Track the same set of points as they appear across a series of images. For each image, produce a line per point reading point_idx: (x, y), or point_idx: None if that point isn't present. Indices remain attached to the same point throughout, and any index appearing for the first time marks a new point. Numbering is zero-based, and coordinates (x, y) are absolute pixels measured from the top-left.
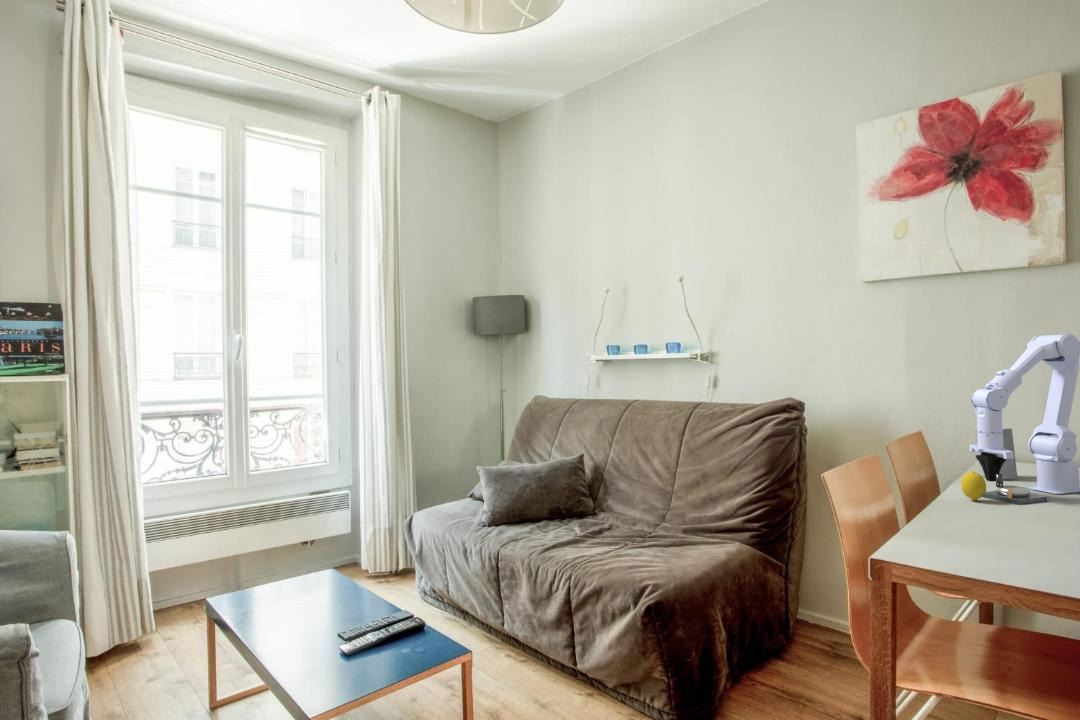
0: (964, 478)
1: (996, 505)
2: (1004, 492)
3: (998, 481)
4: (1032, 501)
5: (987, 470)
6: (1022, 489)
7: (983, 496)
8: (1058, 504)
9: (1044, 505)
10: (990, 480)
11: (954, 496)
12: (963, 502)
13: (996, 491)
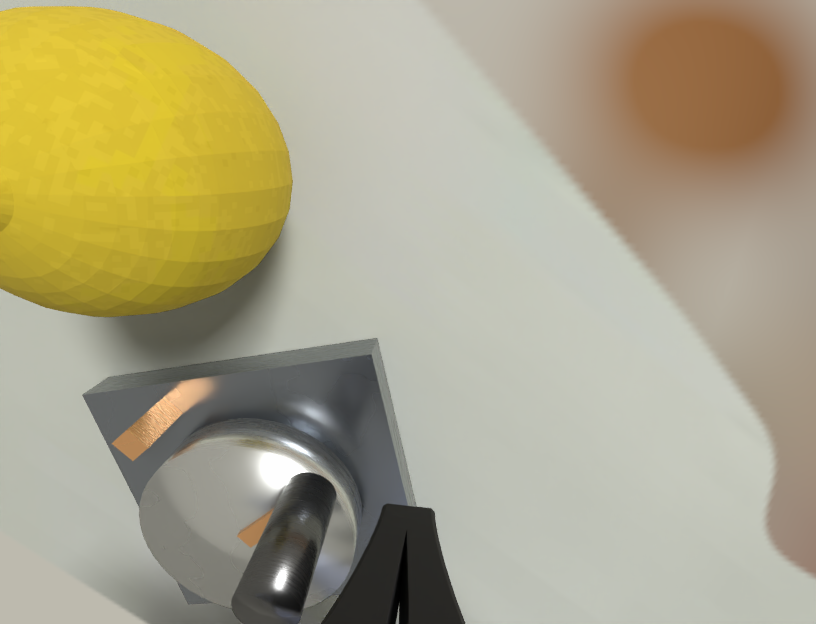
0: (31, 11)
1: None
2: (212, 434)
3: (273, 517)
4: None
5: (362, 599)
6: (191, 553)
7: (360, 343)
8: (127, 567)
9: (98, 495)
10: (381, 515)
11: (437, 127)
12: (184, 22)
13: (380, 472)
